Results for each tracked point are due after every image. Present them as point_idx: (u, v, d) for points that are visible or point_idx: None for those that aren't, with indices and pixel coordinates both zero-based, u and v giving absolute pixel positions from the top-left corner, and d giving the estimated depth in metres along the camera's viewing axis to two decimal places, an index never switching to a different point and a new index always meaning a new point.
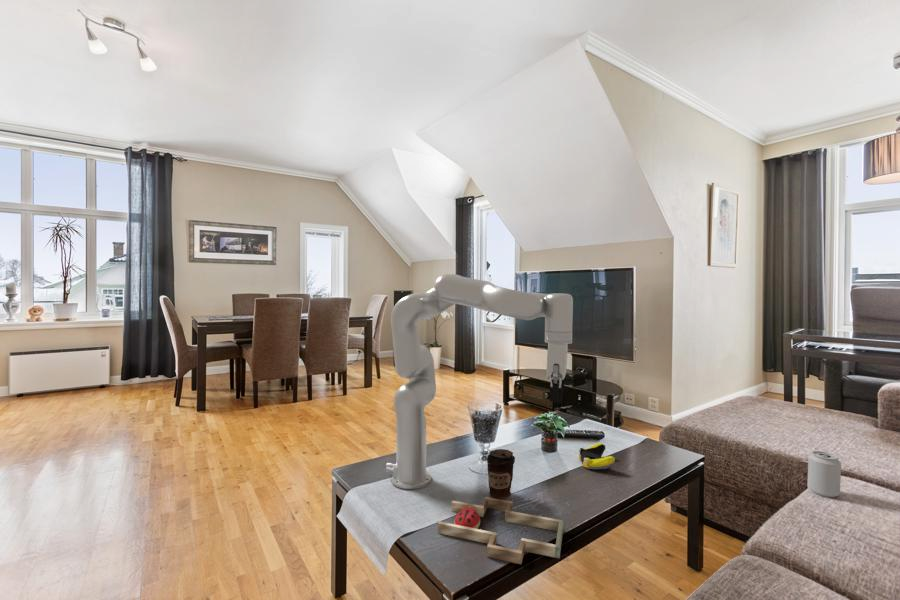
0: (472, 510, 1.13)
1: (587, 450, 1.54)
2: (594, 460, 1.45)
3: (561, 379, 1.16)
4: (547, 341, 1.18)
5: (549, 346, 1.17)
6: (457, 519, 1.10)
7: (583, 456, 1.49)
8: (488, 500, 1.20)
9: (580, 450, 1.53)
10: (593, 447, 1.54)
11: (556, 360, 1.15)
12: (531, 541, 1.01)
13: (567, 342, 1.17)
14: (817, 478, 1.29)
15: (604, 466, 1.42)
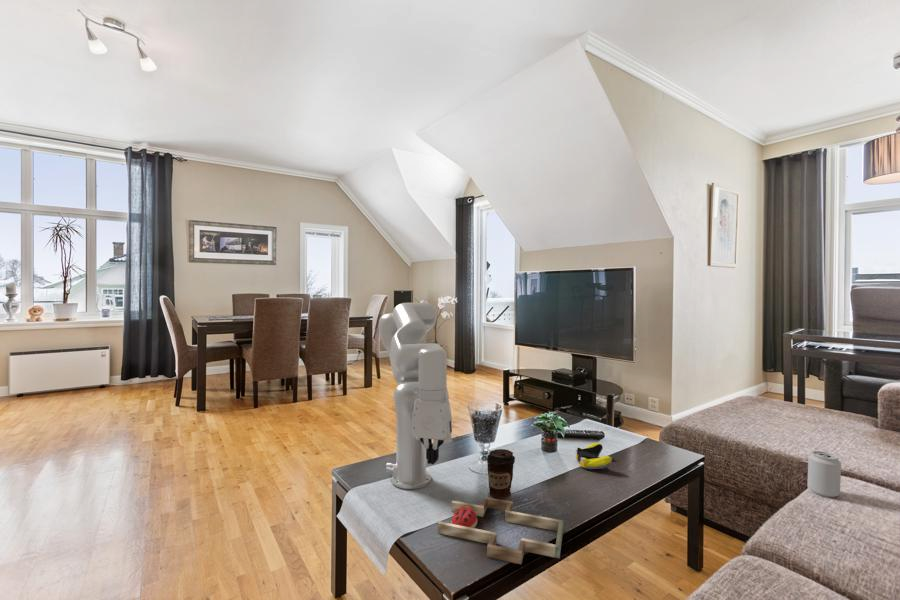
0: (469, 510, 1.13)
1: (584, 450, 1.54)
2: (591, 460, 1.45)
3: None
4: (437, 401, 1.10)
5: (444, 405, 1.10)
6: (454, 518, 1.10)
7: (580, 456, 1.50)
8: (488, 500, 1.20)
9: (577, 450, 1.53)
10: (590, 447, 1.54)
11: (450, 417, 1.12)
12: (531, 541, 1.01)
13: None
14: (817, 478, 1.29)
15: (601, 466, 1.42)
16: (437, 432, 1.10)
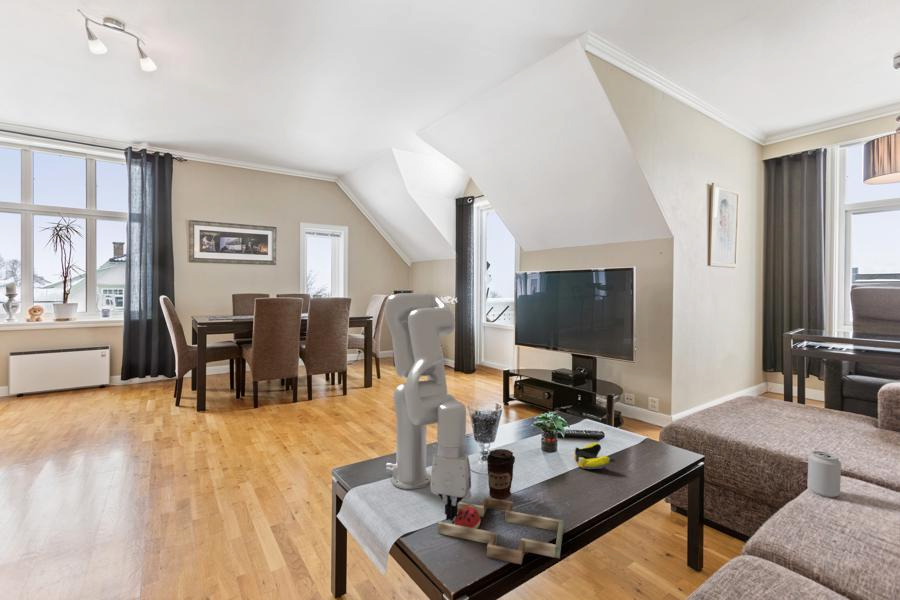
0: (472, 510, 1.13)
1: (582, 450, 1.54)
2: (589, 460, 1.45)
3: None
4: (457, 458, 1.09)
5: (464, 462, 1.09)
6: (457, 518, 1.10)
7: (578, 456, 1.50)
8: (488, 500, 1.20)
9: (575, 450, 1.54)
10: (588, 447, 1.55)
11: (469, 473, 1.11)
12: (531, 541, 1.01)
13: None
14: (817, 478, 1.29)
15: (599, 466, 1.43)
16: (456, 489, 1.09)
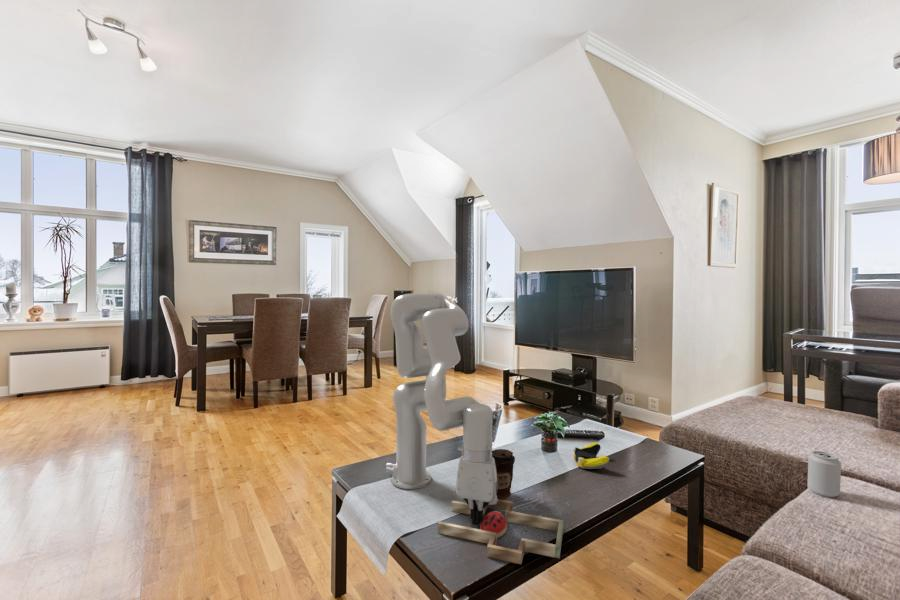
0: (499, 515, 1.10)
1: (582, 450, 1.54)
2: (588, 460, 1.45)
3: None
4: (484, 462, 1.07)
5: (491, 466, 1.07)
6: (483, 523, 1.08)
7: (578, 456, 1.50)
8: None
9: (575, 450, 1.54)
10: (588, 447, 1.55)
11: (496, 477, 1.09)
12: (531, 541, 1.01)
13: None
14: (817, 478, 1.29)
15: (598, 466, 1.43)
16: (483, 494, 1.07)
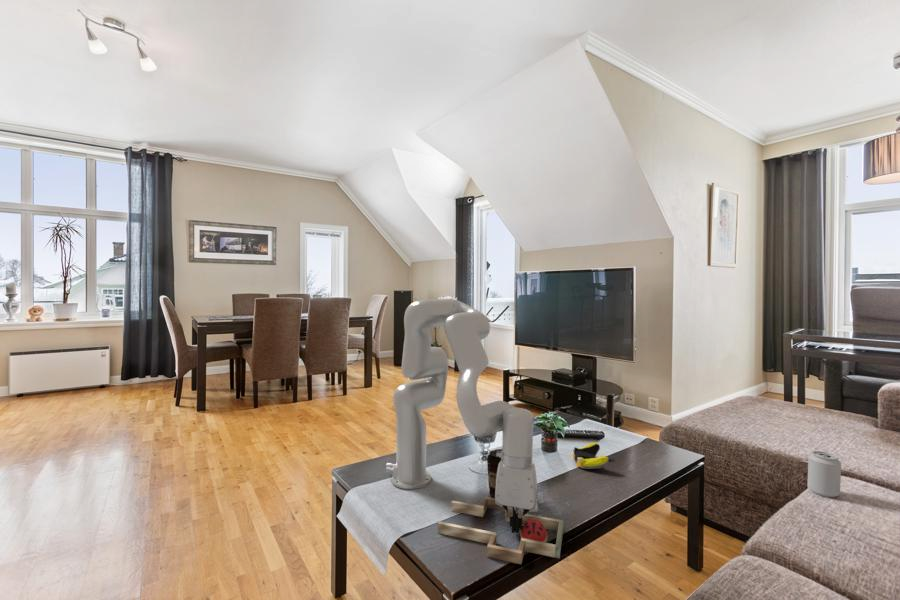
0: (538, 522, 1.07)
1: (581, 450, 1.54)
2: (587, 460, 1.45)
3: None
4: (525, 468, 1.03)
5: (532, 473, 1.04)
6: (525, 533, 1.04)
7: (577, 456, 1.50)
8: (488, 500, 1.20)
9: (574, 450, 1.54)
10: (587, 447, 1.55)
11: (536, 484, 1.05)
12: (531, 541, 1.01)
13: None
14: (817, 478, 1.29)
15: (597, 466, 1.43)
16: (524, 501, 1.04)
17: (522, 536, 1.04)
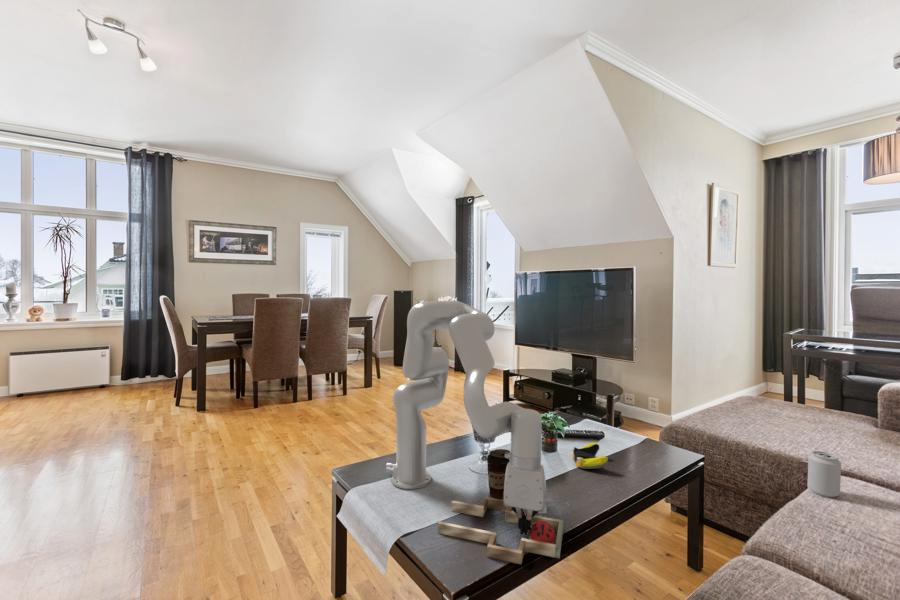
0: (547, 524, 1.07)
1: (581, 450, 1.54)
2: (587, 460, 1.45)
3: None
4: (534, 470, 1.03)
5: (541, 474, 1.03)
6: (534, 534, 1.03)
7: (576, 456, 1.50)
8: (488, 500, 1.20)
9: (574, 450, 1.54)
10: (587, 447, 1.55)
11: (545, 485, 1.05)
12: (531, 541, 1.01)
13: None
14: (817, 478, 1.29)
15: (597, 466, 1.43)
16: (533, 503, 1.03)
17: (531, 538, 1.04)
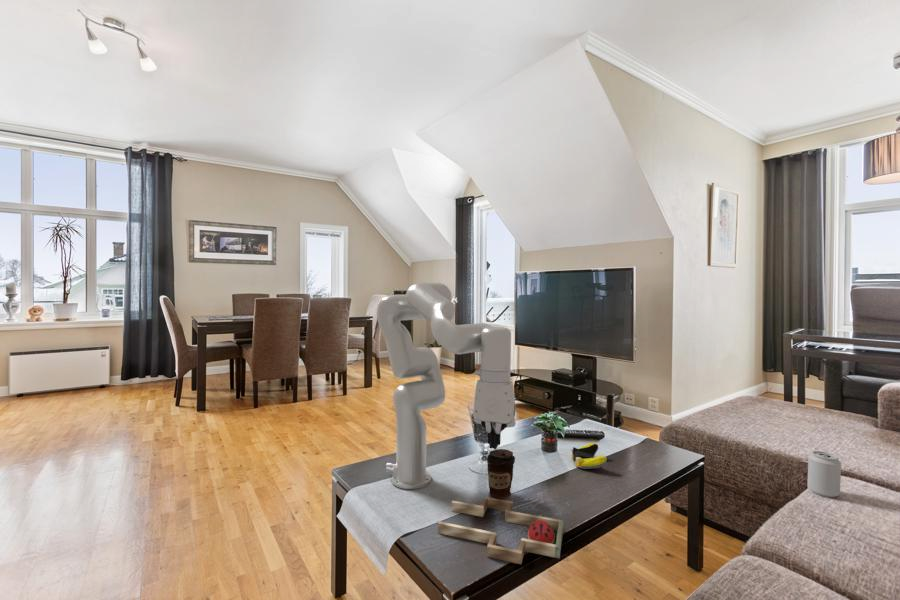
0: (545, 523, 1.07)
1: (580, 450, 1.54)
2: (586, 459, 1.45)
3: None
4: (502, 383, 1.04)
5: (510, 387, 1.05)
6: (532, 534, 1.04)
7: (575, 455, 1.50)
8: (488, 500, 1.20)
9: (573, 450, 1.54)
10: (586, 447, 1.55)
11: (514, 400, 1.06)
12: (531, 541, 1.01)
13: None
14: (817, 478, 1.29)
15: (596, 466, 1.43)
16: (501, 415, 1.05)
17: (529, 537, 1.04)
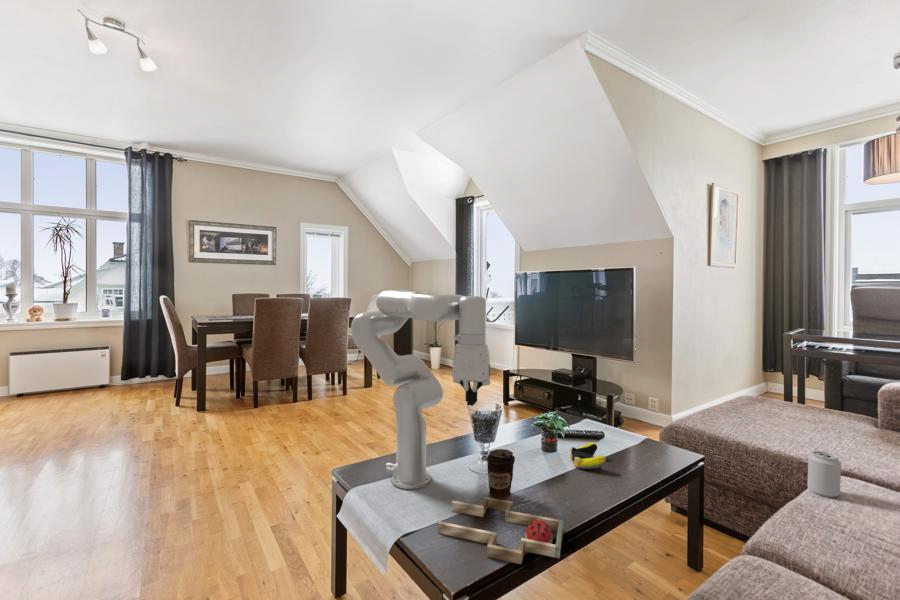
0: (543, 523, 1.07)
1: (579, 450, 1.54)
2: (585, 459, 1.45)
3: None
4: (478, 345, 1.16)
5: (484, 349, 1.17)
6: (530, 533, 1.04)
7: (574, 455, 1.50)
8: (488, 500, 1.20)
9: (572, 449, 1.54)
10: (585, 447, 1.55)
11: (489, 361, 1.18)
12: (531, 541, 1.01)
13: None
14: (817, 478, 1.29)
15: (594, 465, 1.43)
16: (477, 374, 1.17)
17: (527, 537, 1.04)
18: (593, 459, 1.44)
